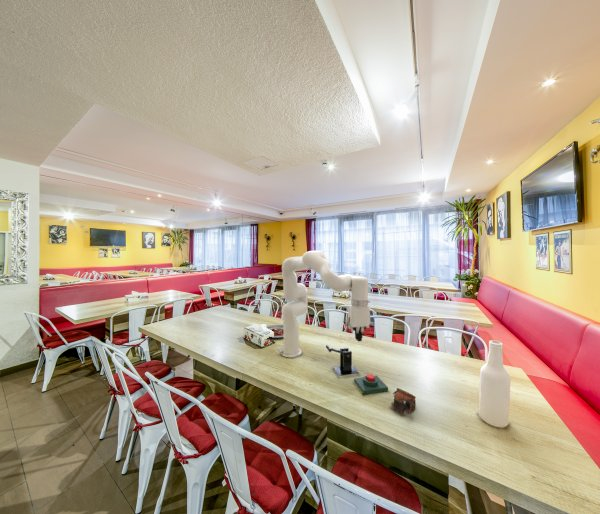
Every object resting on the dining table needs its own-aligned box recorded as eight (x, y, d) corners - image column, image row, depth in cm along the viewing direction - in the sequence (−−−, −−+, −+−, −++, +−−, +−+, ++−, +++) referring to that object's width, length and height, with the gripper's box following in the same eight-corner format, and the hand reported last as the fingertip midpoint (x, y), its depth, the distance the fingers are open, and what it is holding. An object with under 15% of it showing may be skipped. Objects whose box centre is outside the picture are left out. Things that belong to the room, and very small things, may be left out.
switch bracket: (339, 378, 120) (338, 355, 119) (332, 369, 129) (332, 347, 128) (359, 375, 122) (359, 352, 121) (352, 366, 131) (352, 345, 130)
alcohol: (472, 413, 94) (475, 338, 92) (490, 410, 96) (493, 336, 94) (495, 430, 85) (498, 348, 84) (514, 426, 87) (518, 345, 86)
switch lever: (328, 352, 120) (329, 347, 120) (325, 348, 125) (326, 343, 125) (349, 358, 123) (350, 354, 123) (345, 354, 127) (347, 349, 128)
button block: (363, 395, 106) (363, 386, 106) (353, 382, 116) (353, 374, 115) (388, 392, 108) (388, 383, 108) (376, 379, 118) (376, 371, 118)
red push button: (368, 382, 110) (368, 378, 109) (365, 378, 113) (365, 374, 113) (376, 381, 110) (376, 377, 110) (372, 377, 114) (372, 373, 114)
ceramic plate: (285, 342, 164) (285, 337, 164) (253, 337, 173) (253, 333, 173) (299, 329, 189) (299, 325, 188) (269, 326, 197) (269, 322, 197)
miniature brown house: (384, 404, 100) (390, 384, 103) (404, 413, 101) (409, 392, 104) (402, 417, 89) (408, 393, 91) (424, 426, 90) (429, 403, 92)
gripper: (369, 300, 119) (369, 336, 121) (341, 301, 116) (341, 338, 118) (377, 303, 112) (376, 342, 113) (347, 305, 109) (347, 344, 110)
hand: (358, 340), depth 115 cm, fingers closed
